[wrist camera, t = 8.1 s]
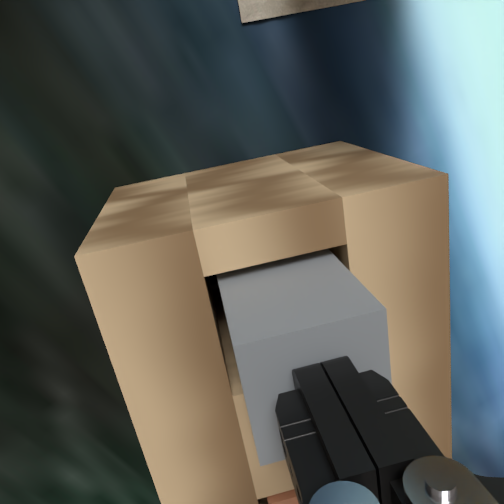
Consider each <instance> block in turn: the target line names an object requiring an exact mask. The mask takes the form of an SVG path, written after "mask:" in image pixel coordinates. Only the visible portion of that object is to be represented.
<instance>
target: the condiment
mask: <svg viewBox="0 0 504 504" xmlns="http://www.w3.org/2000/svg"><path fill="white" fill-rule="evenodd" d="M359 1H364V0H238V3H239V9H240V15H241V21H242V23H245V22H251V21H256V20H261V19H267V18H272V17H277V16H282V15H288V14H293V13H299V12H304V11H310V10H315V9H321V8H327V7H332V6H338V5H343V4H348V3H354V2H359Z"/></svg>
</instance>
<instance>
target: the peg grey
mask: <svg viewBox="0 0 504 504" xmlns="http://www.w3.org/2000/svg"><path fill="white" fill-rule="evenodd" d="M216 276H217V281H218V285H219V290H220V294H221V298H222V303H223V307H224V312H225V316H226V320H227V325H228V329H229V333H230V338H231V342H232V346H233V351H234V355H235V359H236V364H237V368H238V372H239V377H240V381H241V385H242V390H243V394H244V398H245V403H246V407H247V411H248V416H249V420H250V424H251V429H252V433H253V437H254V442H255V446H256V450H257V455H258V459H259V463H260V466H264V465H267V464H271V463H275V462H278V461H282V460H286V459H285V456H284V452H283V447H282V442H281V437H280V432H279V427H278V422H277V417H276V412H275V407H276V403H277V399H278V394H280V393H284V392H288V391H292V390H295V387H294V381H293V376H292V369H296V368H300V367H304V366H308V365H312V364H316V363H319V364H320V362H323V361H327V360H331V359H335V358H339V357H343V356H348V357H349V358H350V360H351V361H352V363H353V365H354V366H355V368H356V369H357V371H358V372H359V373H361V372H364V371H368V370H373V371H375V372H377V373H378V374H380V375H381V376H383V377H385V378H386V379H388V380H389V381H390V383H391V384H392V379H391V366H390V352H389V338H388V325H387V311H386V308H385V307H384V306H383V305H382V304H381V303H380V302H379V301H378V300H377V299H376V298H375V297H374V296H373V294H372V293H371V292H370V291H369V290H368V289H367V288H366V287H365V286H364V285H363V284H362V283H361V282H360V281H359V280H358V279H357V278H356V277H355V276H354V275H353V274H352V273H351V272H350V271H349V270H348V269H347V268H346V267H345V266H344V265H343V264H342V263H341V262H340V261H339V260H338V259H337V257H336V256H335V255H334V254H333V253H332V252H331V251H330V250H329V249H323V250H319V251H315V252H310V253H306V254H302V255H297V256H293V257H289V258H284V259H280V260H276V261H271V262H267V263H263V264H258V265H254V266H250V267H245V268H241V269H237V270H232V271H228V272H224V273H219V274H216Z"/></svg>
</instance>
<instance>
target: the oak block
mask: <svg viewBox="0 0 504 504" xmlns="http://www.w3.org/2000/svg"><path fill="white" fill-rule="evenodd" d="M323 249H329V250H330V251H331V252H332V253H333V254H334V255H335V256H336V257H337V259H338V260H339V261H340V262H341V263H342V264H343V265H344V266H345V267H346V268H347V269H348V270H349V271H350V272H351V273H352V274H353V275H354V276H355V277H356V278H357V279H358V280H359V281H360V282H361V283H362V284H363V285H364V286H365V287H366V288H367V289H368V290H369V291H370V292H371V293H372V294H373V296H374V297H375V298H376V299H377V300H378V301H379V302H380V303H381V304H382V305H383V306H384V307H385V308H386V311H387V325H388V338H389V352H390V366H391V379H392V385H393V387H394V388H395V390H396V391H397V392H398V394H399V397H401V398H402V399H403V400H404V402H405V403H406V405H407V407H408V409H410V410H411V411H412V413H413V414H414V415H415V417H416V418H417V420H418V421H419V422H420V424H421V425H422V426H423V428H424V429H425V430H426V432H427V433H428V435H429V436H430V437H431V439H432V440H433V441H434V443H435V444H436V445H437V447H438V448H439V449H440V451H441V452H442V453H443V455H444V456H445V457H447V458H450V459H452V435H451V353H450V272H449V191H448V174H447V173H444V172H440V171H437V170H434V169H431V168H427V167H424V166H421V165H417V164H414V163H411V162H408V161H404V160H401V159H398V158H395V157H391V156H388V155H385V154H382V153H378V152H375V151H372V150H369V149H365V148H362V147H359V146H355V145H352V144H349V143H346V142H342V141H337V142H332V143H328V144H323V145H318V146H313V147H308V148H304V149H299V150H294V151H289V152H284V153H280V154H275V155H270V156H265V157H260V158H256V159H251V160H246V161H241V162H236V163H232V164H227V165H222V166H217V167H212V168H208V169H203V170H198V171H193V172H188V173H184V174H179V175H174V176H169V177H164V178H160V179H155V180H150V181H145V182H140V183H136V184H131V185H126V186H121V187H116V188H115V189H114V190H113V192H112V194H111V195H110V197H109V199H108V200H107V202H106V204H105V205H104V207H103V209H102V211H101V212H100V214H99V216H98V217H97V219H96V221H95V222H94V224H93V226H92V227H91V229H90V231H89V232H88V234H87V236H86V237H85V239H84V241H83V243H82V244H81V246H80V248H79V249H78V251H77V253H76V254H75V256H74V257H75V260H76V263H77V266H78V268H79V271H80V274H81V277H82V280H83V283H84V286H85V288H86V291H87V294H88V297H89V300H90V303H91V305H92V308H93V311H94V314H95V317H96V320H97V322H98V325H99V328H100V331H101V334H102V337H103V340H104V342H105V345H106V348H107V351H108V354H109V357H110V359H111V362H112V365H113V368H114V371H115V374H116V376H117V379H118V382H119V385H120V388H121V391H122V393H123V396H124V399H125V402H126V405H127V408H128V411H129V413H130V416H131V419H132V422H133V425H134V428H135V430H136V433H137V436H138V439H139V442H140V445H141V447H142V450H143V453H144V456H145V459H146V462H147V464H148V467H149V470H150V473H151V476H152V479H153V482H154V484H155V487H156V490H157V493H158V496H159V499H160V501H161V504H268V501H267V497H268V496H272V495H275V494H279V493H282V492H286V491H289V490H293V489H294V486H293V483H292V479H291V476H290V472H289V469H288V466H287V463H286V460H282V461H278V462H275V463H271V464H267V465H264V466H260V463H259V459H258V455H257V450H256V446H255V442H254V437H253V433H252V429H251V424H250V420H249V416H248V411H247V407H246V403H245V398H244V394H243V390H242V385H241V381H240V377H239V372H238V368H237V364H236V359H235V355H234V351H233V346H232V342H231V338H230V333H229V329H228V325H227V320H226V316H225V312H224V307H223V303H222V298H221V294H220V290H219V285H218V282H216V283H210V278H209V276H211V275H215V274H219V273H224V272H228V271H232V270H237V269H241V268H245V267H250V266H254V265H258V264H263V263H267V262H271V261H276V260H280V259H284V258H289V257H293V256H297V255H302V254H306V253H310V252H315V251H319V250H323Z"/></svg>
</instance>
